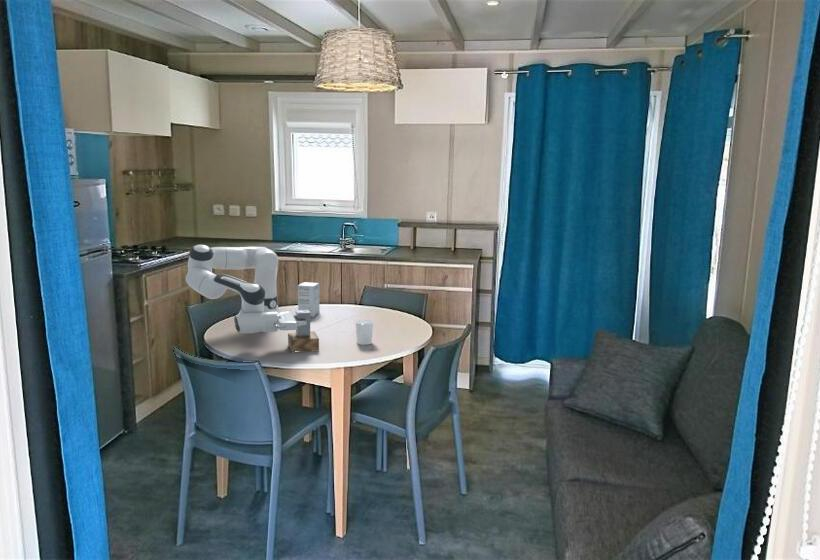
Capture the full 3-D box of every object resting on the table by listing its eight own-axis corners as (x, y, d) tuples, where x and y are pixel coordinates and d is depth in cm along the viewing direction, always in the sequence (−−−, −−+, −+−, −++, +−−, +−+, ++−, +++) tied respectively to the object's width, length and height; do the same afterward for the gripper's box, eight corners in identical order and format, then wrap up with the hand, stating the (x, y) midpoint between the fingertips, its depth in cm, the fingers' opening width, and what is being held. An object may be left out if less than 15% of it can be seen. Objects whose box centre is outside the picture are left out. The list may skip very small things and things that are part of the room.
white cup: (356, 340, 299) (356, 319, 297) (373, 340, 299) (373, 320, 297) (354, 345, 291) (354, 323, 289) (372, 345, 291) (372, 324, 289)
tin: (297, 337, 281) (297, 313, 279) (295, 334, 287) (295, 310, 285) (310, 336, 283) (310, 312, 281) (308, 333, 288) (308, 309, 286)
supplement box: (304, 311, 355) (303, 281, 352) (320, 312, 353) (319, 282, 350) (297, 315, 346) (297, 285, 343) (314, 316, 344) (313, 285, 341)
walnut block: (291, 353, 278) (291, 340, 277) (288, 345, 290) (287, 333, 289) (318, 351, 282) (318, 338, 281) (314, 344, 293) (314, 331, 292)
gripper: (275, 320, 269) (308, 318, 273) (270, 309, 289) (301, 308, 293) (275, 334, 271) (308, 332, 275) (271, 323, 290) (301, 321, 294)
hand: (304, 319), depth 284 cm, fingers open, 8 cm apart
